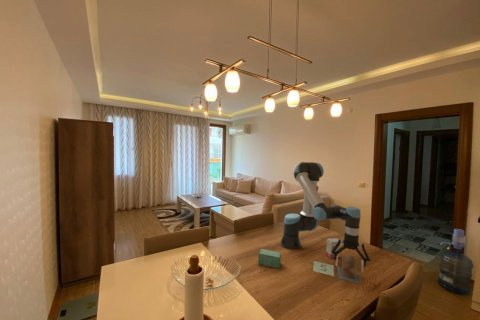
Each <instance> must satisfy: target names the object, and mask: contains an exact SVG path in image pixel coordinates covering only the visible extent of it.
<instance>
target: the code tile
mask: <svg viewBox="0 0 480 320" xmlns="http://www.w3.org/2000/svg"><path fill="white" fill-rule="evenodd" d="M334 268H335V266H334V265H333V264H328V263H324V262H320V261H315V260H313V266H312V272H314V273H315V272H316V273H320V274H322V275H323V274H325V275H327V276H332V277H335V269H334Z"/></svg>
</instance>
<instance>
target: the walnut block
mask: <svg viewBox="0 0 480 320" xmlns="http://www.w3.org/2000/svg"><path fill="white" fill-rule="evenodd" d="M341 260H342V262H341V267H342V276H344V277H348V278H352V279H356V271H358V270H357V269H358V261H357V258H356V256H352V255H347V254H344V253H343V254H342V259H341Z"/></svg>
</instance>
